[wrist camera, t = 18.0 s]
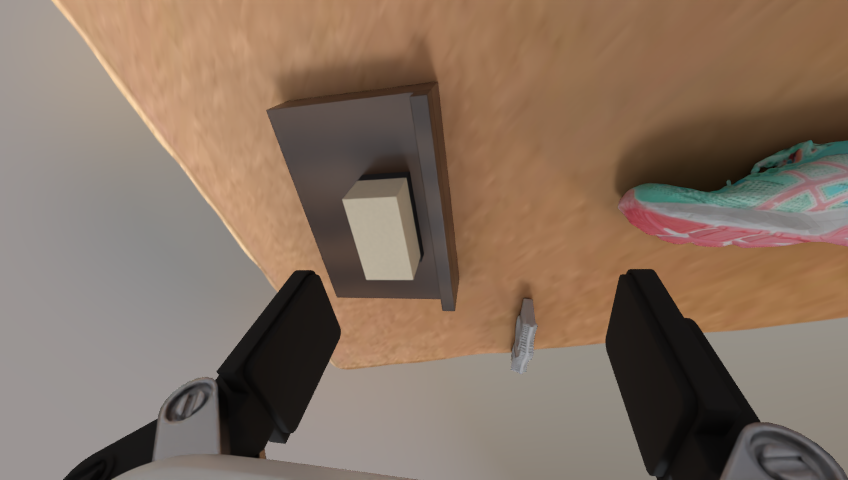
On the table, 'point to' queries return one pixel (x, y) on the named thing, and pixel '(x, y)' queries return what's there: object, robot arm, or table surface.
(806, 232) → the athletic shoe
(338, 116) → the shelf
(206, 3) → the table surface
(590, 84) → the table surface
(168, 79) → the table surface
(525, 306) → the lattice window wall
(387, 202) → the tall beige carton
